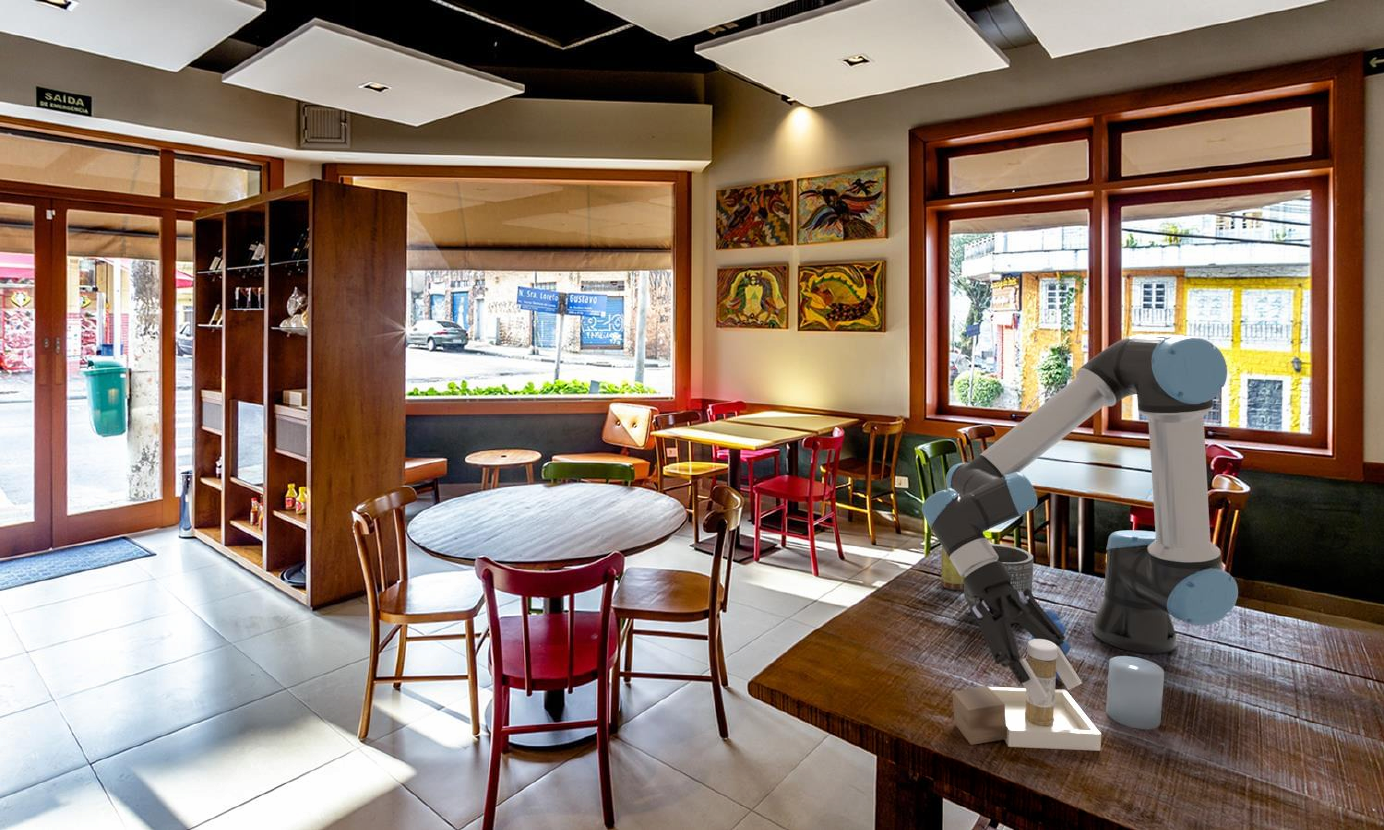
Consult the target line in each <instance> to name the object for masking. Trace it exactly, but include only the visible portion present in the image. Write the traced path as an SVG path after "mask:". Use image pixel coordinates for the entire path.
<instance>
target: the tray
mask: <svg viewBox="0 0 1384 830" xmlns="http://www.w3.org/2000/svg"><path fill="white" fill-rule="evenodd" d="M988 687H989V688H990V690H991V691H992V692H993V693H994V694H995V695H996V696H997V697H998V698H999V699H1000V700H1001V701H1002V702H1003V703H1004V704H1005V717H1006V731H1007V739H1003V740H1004V741H1005V743H1006V744H1007V747H1009V748H1028V749H1029V748H1031V749H1052V750H1053V749H1055V750H1072V751H1073V750H1075V751H1097V752H1100V751H1101V745H1102V744H1101V743H1102V733H1101V732H1100V731H1099V729H1098V728H1097V726H1096V725H1094V723H1093V722H1092V721H1091V719H1090V718H1089V717H1088V716H1087V715H1086V713H1085V712H1084V710H1082V708H1081V707H1080V705H1078V703H1077V702H1076V701H1075V699H1074V698H1073V697H1072V695H1070V693H1069V692H1068V690H1067V689H1056V688H1055V703H1054V711H1053V718H1054V722H1053V723H1052V724H1051V725H1037V724H1034V723H1032V722H1030V721H1028V720H1027V719H1026V717H1025V711H1026V689H1025V688H1024V687H1006V686H1005V687H1003V686H1002V687H1001V686H988Z"/></svg>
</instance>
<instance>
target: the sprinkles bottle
mask: <svg viewBox="0 0 1384 830" xmlns="http://www.w3.org/2000/svg"><path fill="white" fill-rule="evenodd" d="M1026 649H1027V650H1026V652H1027V662H1028V664H1029V666H1030V667H1031V669H1032V671H1033V672H1034V674H1035V675H1036V677H1037V679H1038V680H1039V682H1040V683H1041V685H1042V687H1043V688H1044V690H1045V692H1046V693H1047V695H1048V696H1049V697H1048V698H1046V699H1044V700H1042V701H1040V702H1038V703H1036V704H1034V702H1033V701H1032V699H1031V698H1030V696H1029V694H1028V693H1027V691H1026V711H1025V717H1026V719H1027V720H1028V721H1030V722H1032V723H1034V724H1037V725H1051V724H1052V723H1053V722H1054V718H1053V711H1054V703H1055V689H1056V660H1057V657H1058V647H1057V645H1056V644H1054V643H1053V642H1051V641H1048V640H1044V639H1032V640H1031V639H1030V640H1028V642H1027V648H1026Z"/></svg>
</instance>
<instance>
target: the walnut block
mask: <svg viewBox="0 0 1384 830" xmlns="http://www.w3.org/2000/svg"><path fill="white" fill-rule="evenodd" d="M989 687H990V686H988V685H984V686H976V687H970V688H963V689H958V690H953V691H951V692H952V704H953V705H952V706H953V707H952V708H953V716H954V718H953V719H954V725H955V726H956V728H957V729H958V730H959V731H960V733H961V734H962V736H964V738H965V739H966V740H967V741H968V743H969V744H970V745H971V746H973V745H978V744H983V743H991V742H996V741H1002V740H1004V739H1007V731H1006V717H1005V704H1004V703H1003V702H1002V701H1001V700H1000V699H999V698H998V697H997V696H996V695H995V694H994V693H993V692H992V691H991V690H990V688H989Z"/></svg>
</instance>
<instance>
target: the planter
mask: <svg viewBox="0 0 1384 830" xmlns="http://www.w3.org/2000/svg"><path fill="white" fill-rule="evenodd" d="M990 544H991V546H992V547H993V549H994V550H995V552H996V553H997V555H998V560H997V561H1000V562H1002V563H1003V565H1004V566H1005V568H1006V569H1007V571H1008V572H1009V574H1010V575H1011V578H1012V579H1011V585H1012V587H1013V588H1014V589H1016V590H1017V591H1018V592H1023V591H1024V590H1026V589H1029V590H1030V591H1031V592H1032V593H1033V580H1034V579H1033V577H1034V555H1033V554H1032V553H1030V552H1029V551H1027V550H1025V549H1022V548H1020V547H1017V546H1016V547H1015V546H1011V545H1006V544H998V543H997V544H996V543H990ZM963 597H964V599H965V601H966V604H967V606H968V607H969V610H970V609H971V608H972V607H974V606H975V605H977V604H978V603H979V599H978V598H974V597H972V595H971V593H970V592H969V590H968V588H967V587H966V585H965V584H964V589H963ZM1021 612H1022V611H1021ZM1017 623H1018V622H1014V621H1013V620H1012V619H1011V621H1010V624H1011V625H1013V624H1017Z"/></svg>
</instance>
